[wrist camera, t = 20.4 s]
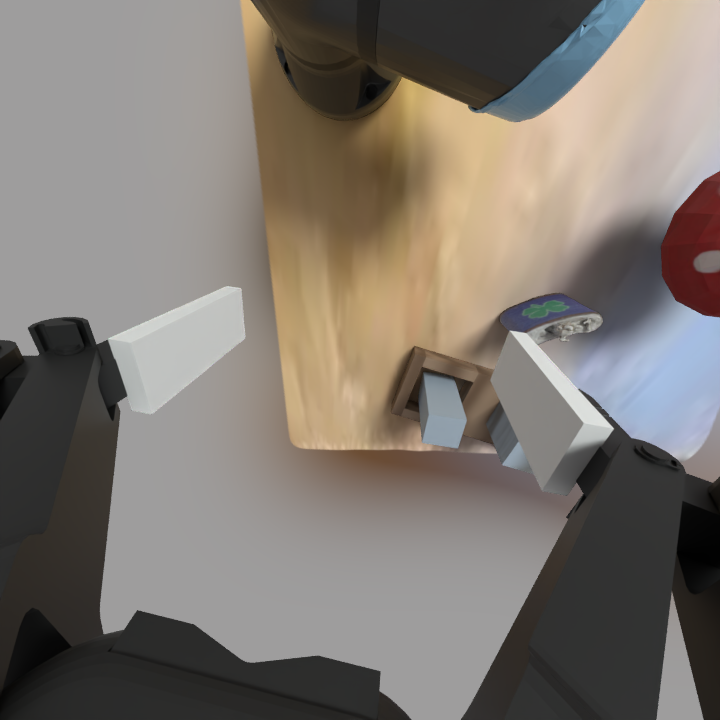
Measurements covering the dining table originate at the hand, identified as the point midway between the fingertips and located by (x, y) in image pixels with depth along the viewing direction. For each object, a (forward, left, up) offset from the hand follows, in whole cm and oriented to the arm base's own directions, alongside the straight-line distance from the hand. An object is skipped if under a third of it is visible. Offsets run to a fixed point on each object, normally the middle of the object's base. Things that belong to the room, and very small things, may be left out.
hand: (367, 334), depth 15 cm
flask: (+22, -1, -31) cm, 38 cm away
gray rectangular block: (+14, -18, -31) cm, 39 cm away
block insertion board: (+20, -18, -31) cm, 41 cm away
